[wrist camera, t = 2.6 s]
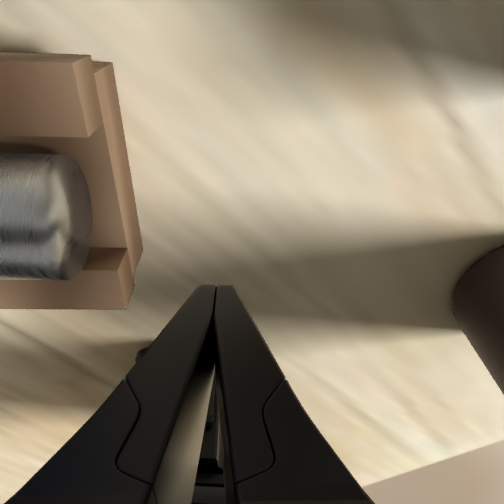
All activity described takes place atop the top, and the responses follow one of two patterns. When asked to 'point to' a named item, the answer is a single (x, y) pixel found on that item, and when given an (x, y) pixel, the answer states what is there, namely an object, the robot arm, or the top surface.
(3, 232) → the axle
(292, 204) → the top surface
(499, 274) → the bottle
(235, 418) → the robot arm
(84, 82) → the beam
